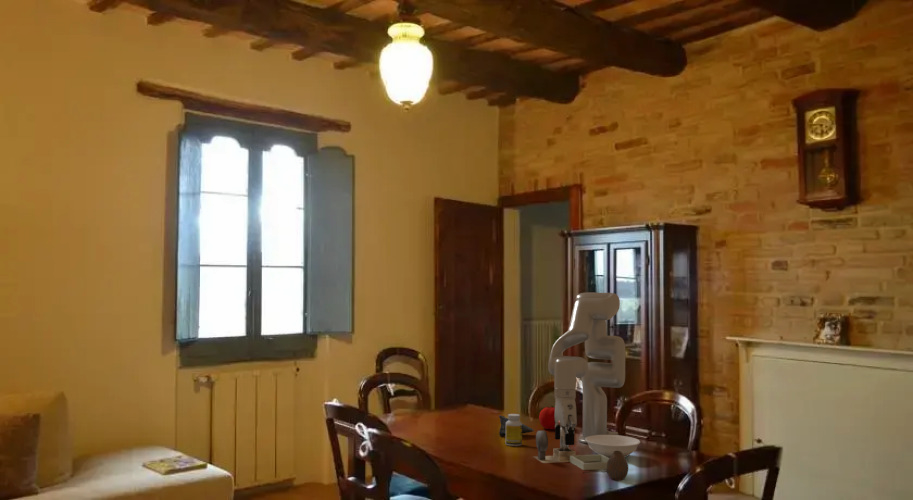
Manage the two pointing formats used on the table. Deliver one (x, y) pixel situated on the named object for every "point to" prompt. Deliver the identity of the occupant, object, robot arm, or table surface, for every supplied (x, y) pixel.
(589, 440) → the bowl
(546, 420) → the tomato
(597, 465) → the tray
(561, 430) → the lock pin
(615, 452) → the vase
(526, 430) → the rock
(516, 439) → the pill bottle
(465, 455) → the table surface
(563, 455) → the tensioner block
